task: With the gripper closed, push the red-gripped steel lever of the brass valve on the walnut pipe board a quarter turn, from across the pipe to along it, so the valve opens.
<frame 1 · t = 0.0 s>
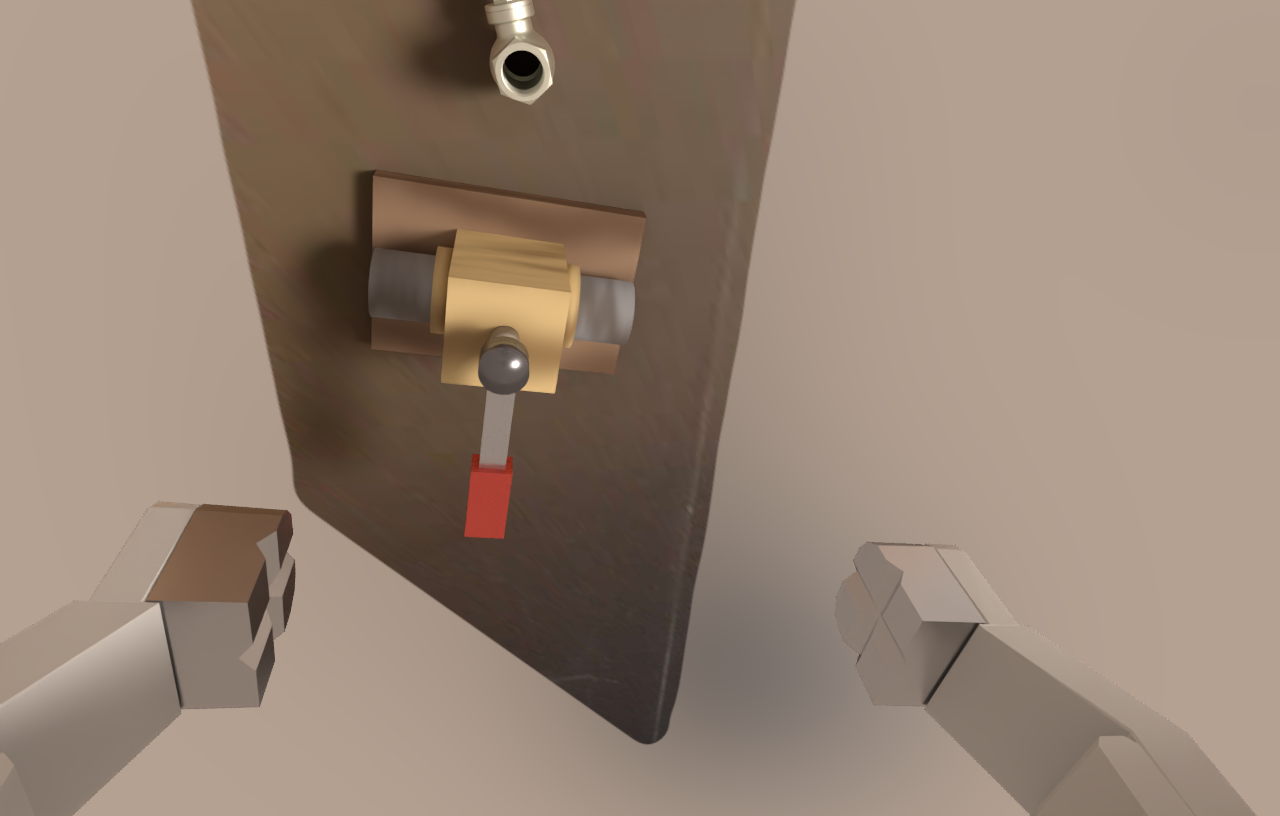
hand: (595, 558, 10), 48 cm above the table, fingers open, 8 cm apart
valve lever: (494, 443, 50), point 14 cm above the table, hinge at 0.0°
valve manifold: (506, 277, 58), on the table
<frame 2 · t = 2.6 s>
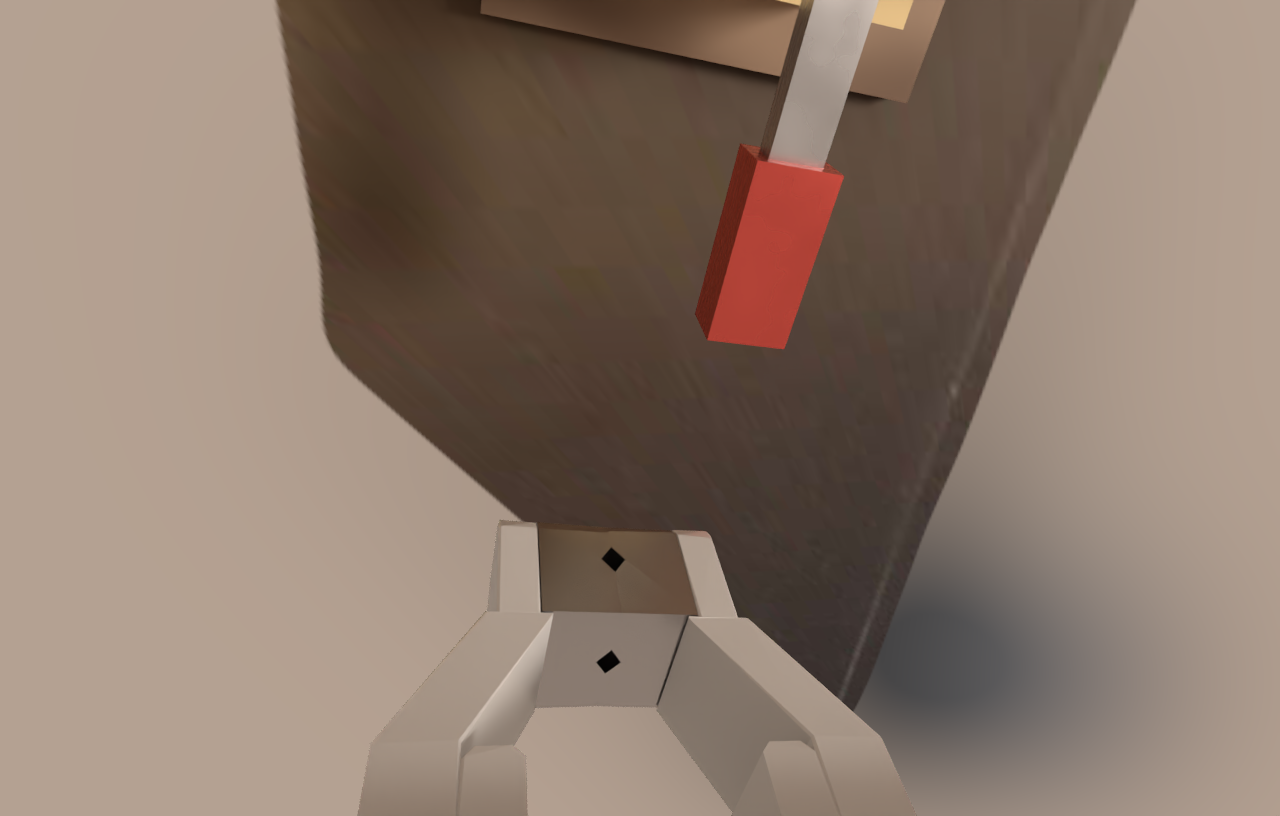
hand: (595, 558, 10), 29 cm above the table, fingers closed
valve lever: (809, 98, 22), point 14 cm above the table, hinge at 0.0°
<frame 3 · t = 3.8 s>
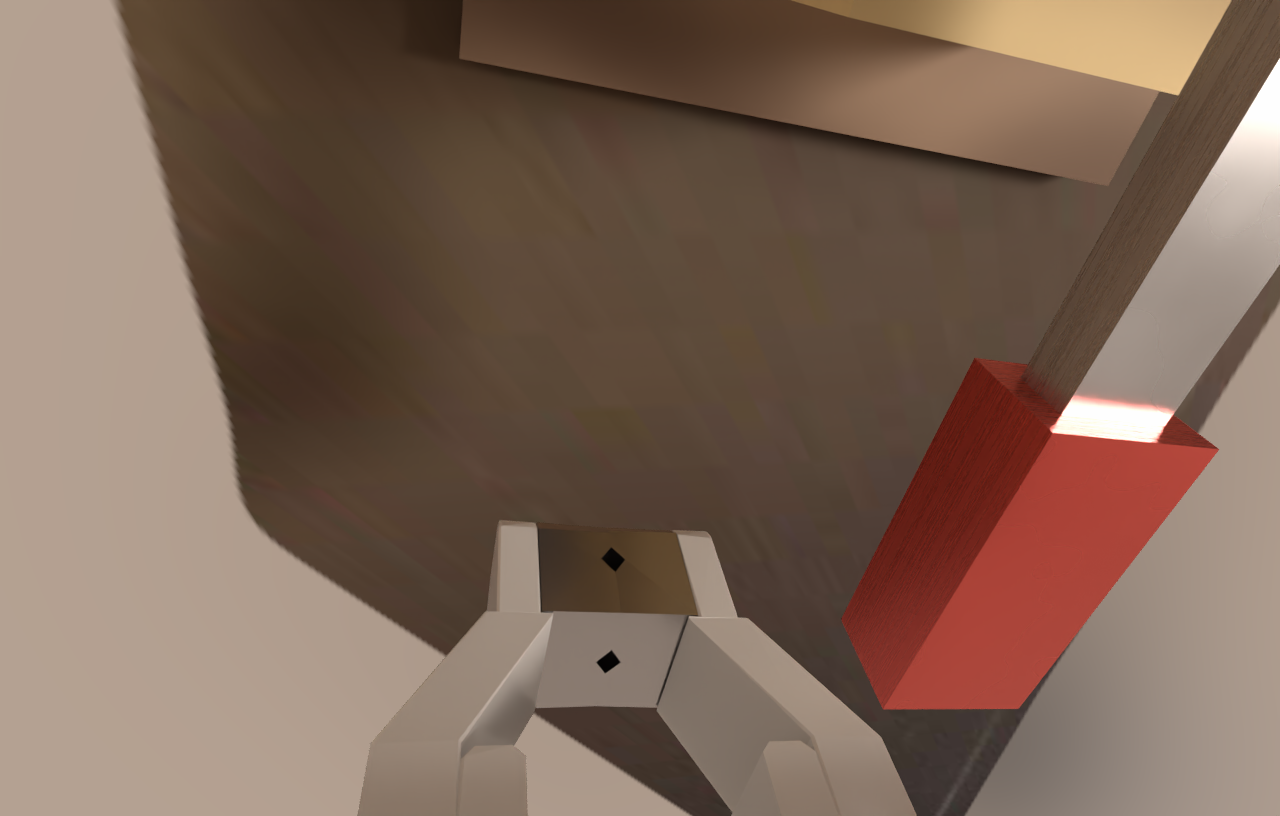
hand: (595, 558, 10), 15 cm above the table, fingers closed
valve lever: (1161, 290, 10), point 14 cm above the table, hinge at 0.0°
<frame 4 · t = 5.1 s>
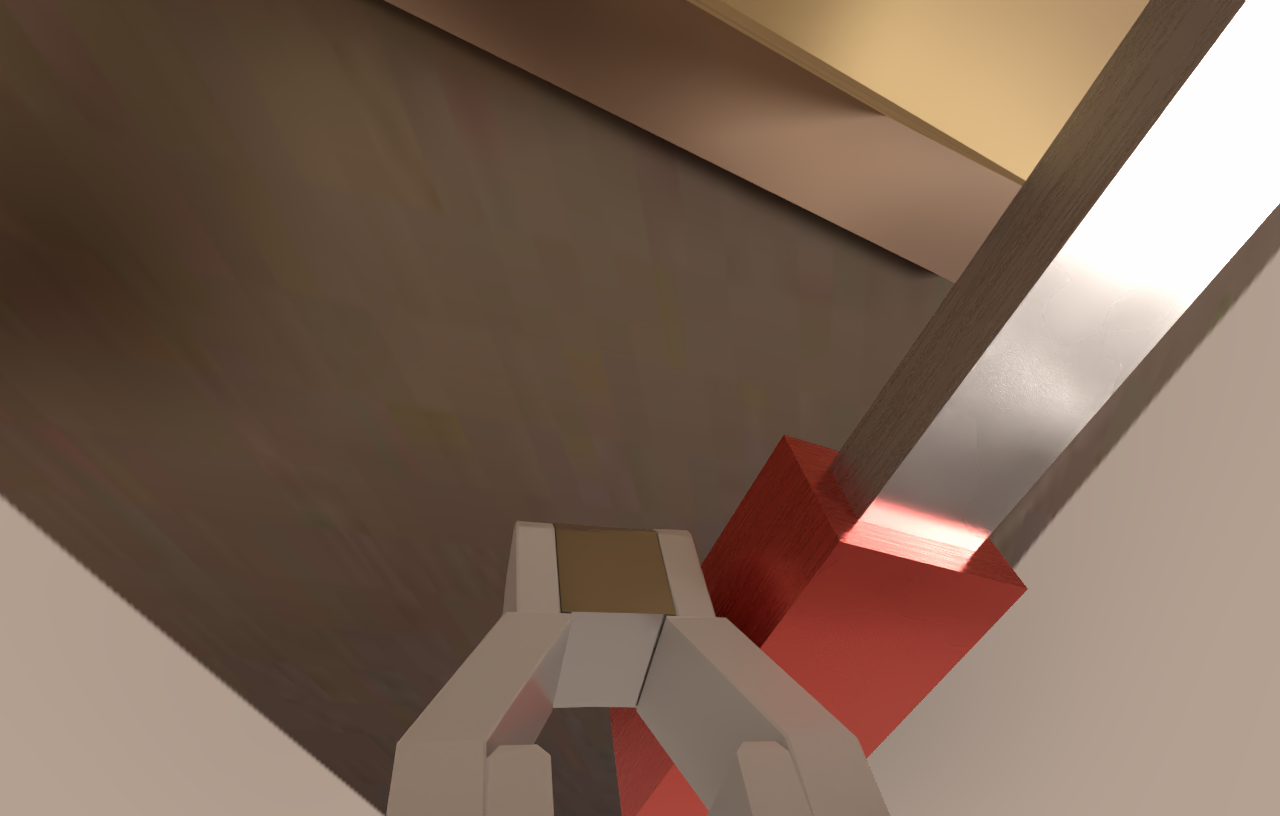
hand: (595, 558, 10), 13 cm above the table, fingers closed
valve lever: (989, 394, 8), point 14 cm above the table, hinge at 2.7°, touching gripper
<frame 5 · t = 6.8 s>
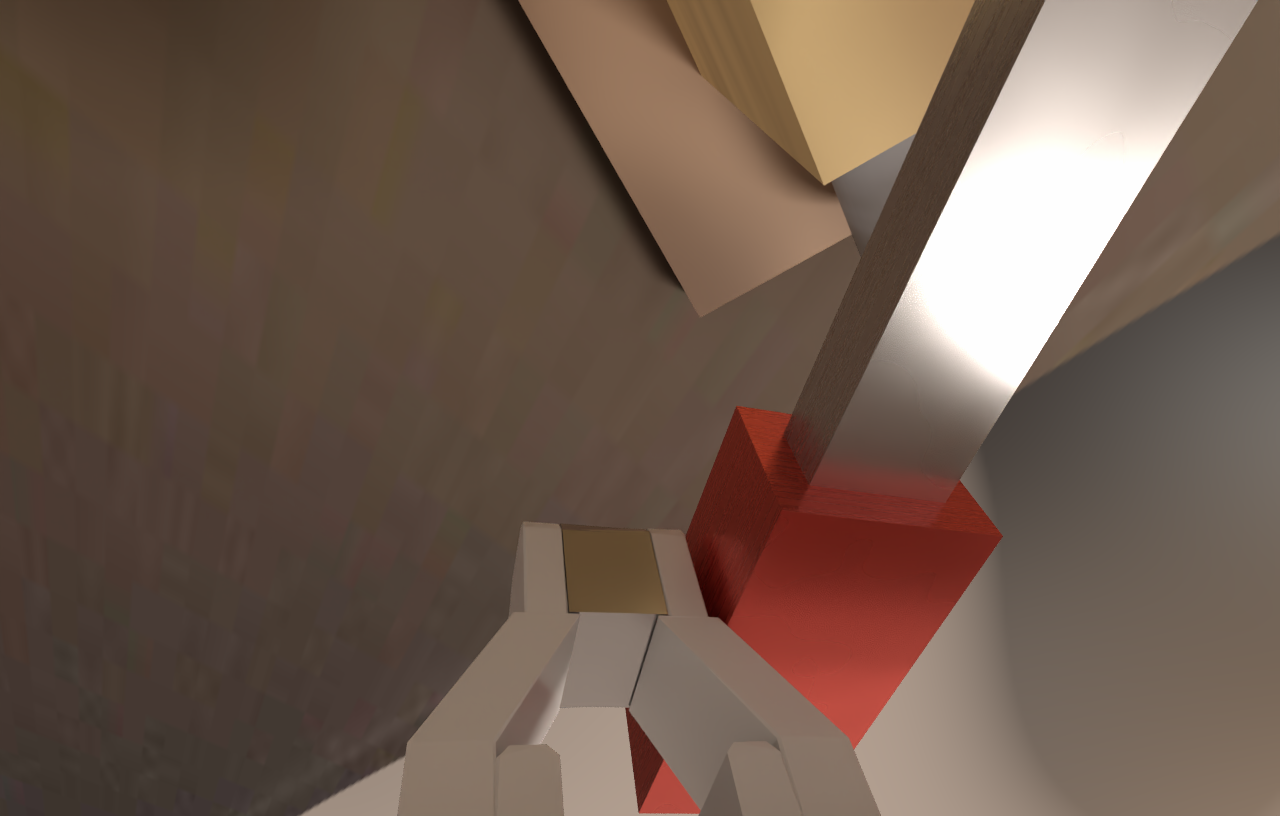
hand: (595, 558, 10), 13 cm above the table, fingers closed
valve lever: (930, 339, 8), point 14 cm above the table, hinge at 46.4°, touching gripper
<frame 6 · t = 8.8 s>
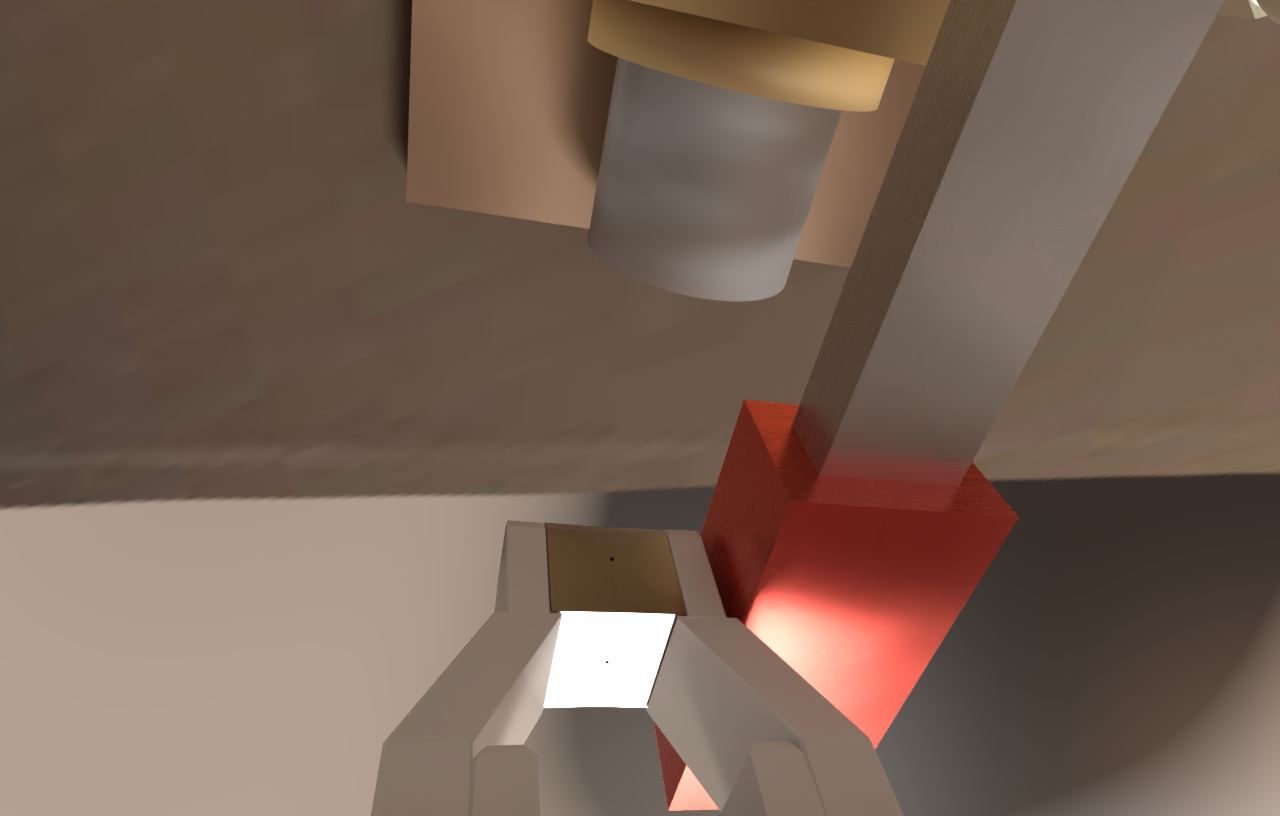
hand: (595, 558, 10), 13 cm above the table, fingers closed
valve lever: (933, 322, 8), point 14 cm above the table, hinge at 89.9°, touching gripper
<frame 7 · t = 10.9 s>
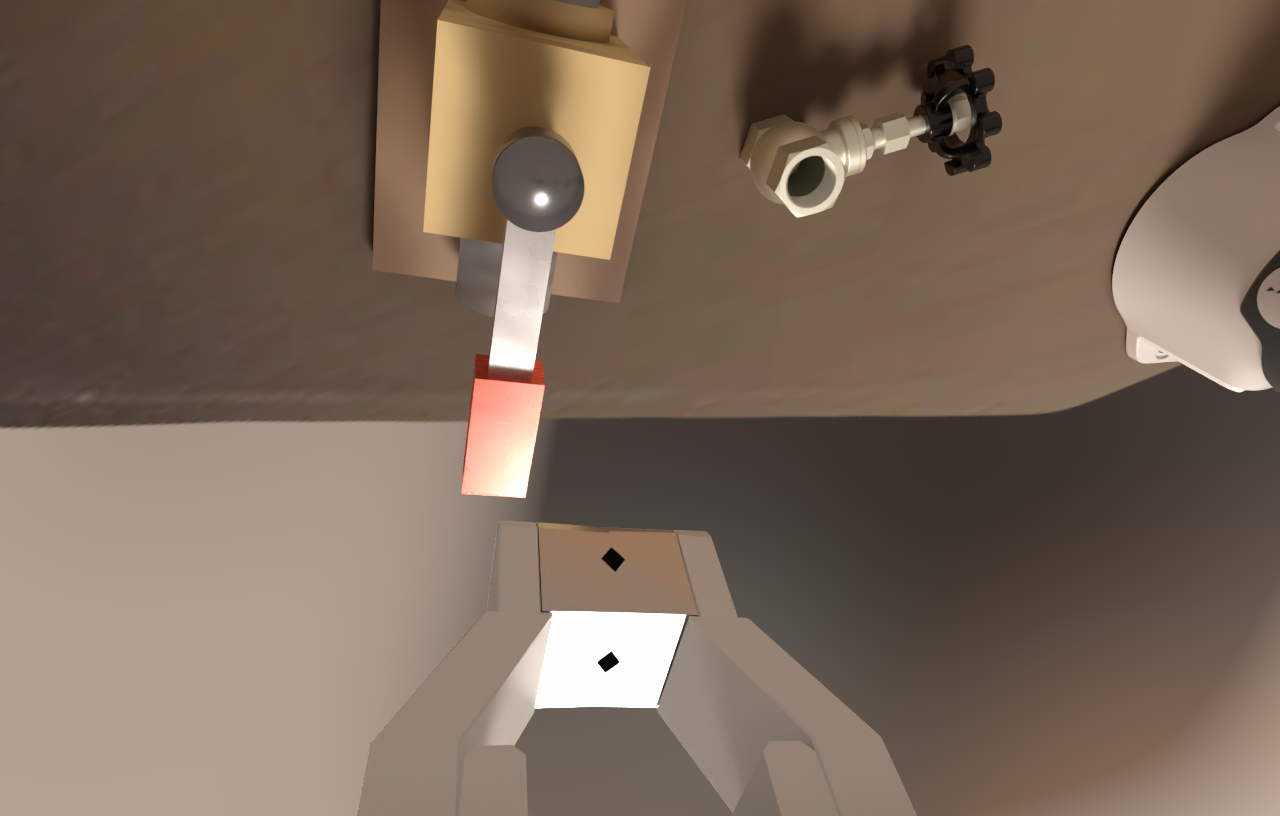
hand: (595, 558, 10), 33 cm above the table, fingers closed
valve lever: (515, 331, 29), point 14 cm above the table, hinge at 90.1°
valve manifold: (523, 99, 38), on the table
valve: (834, 127, 42), on the table
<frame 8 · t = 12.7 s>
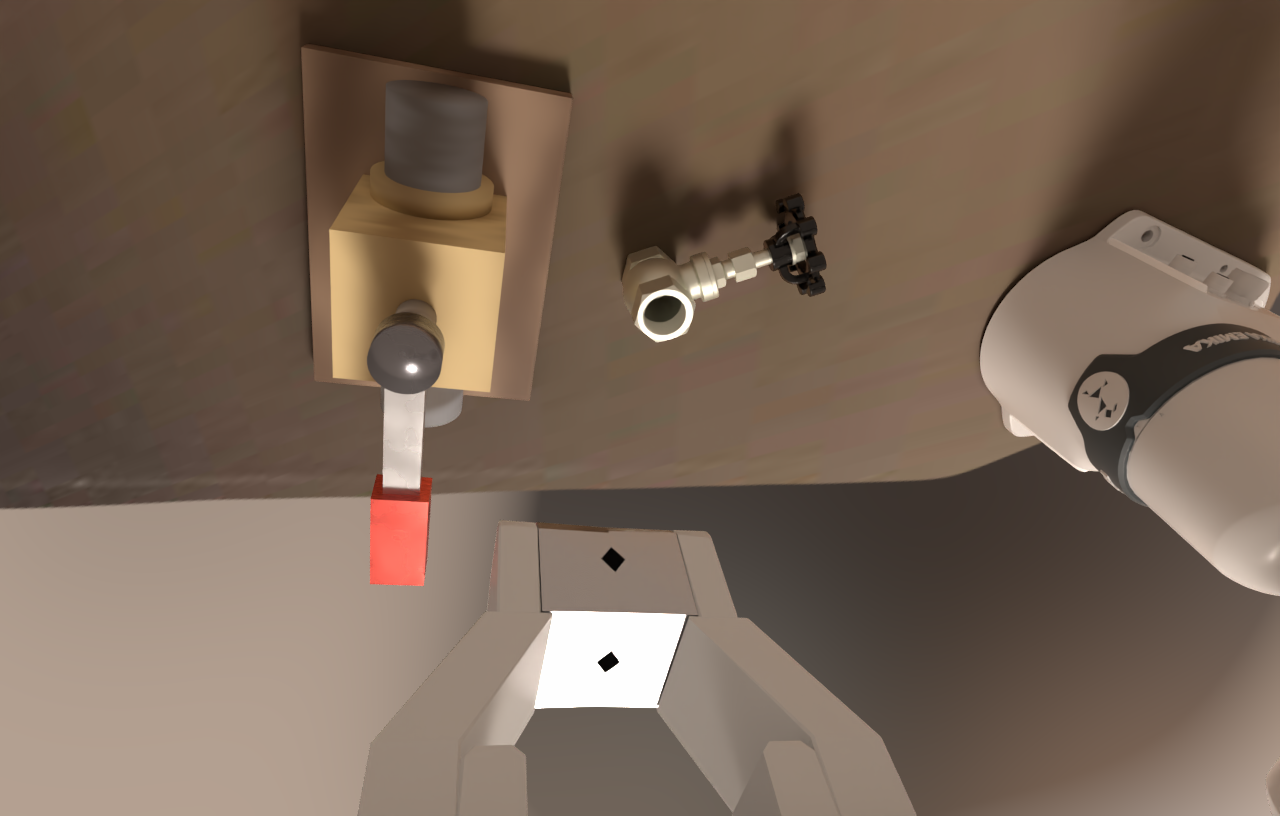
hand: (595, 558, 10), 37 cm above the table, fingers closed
valve lever: (403, 460, 37), point 14 cm above the table, hinge at 90.1°
valve manifold: (435, 242, 45), on the table
valve: (703, 252, 48), on the table
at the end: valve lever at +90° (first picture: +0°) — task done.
